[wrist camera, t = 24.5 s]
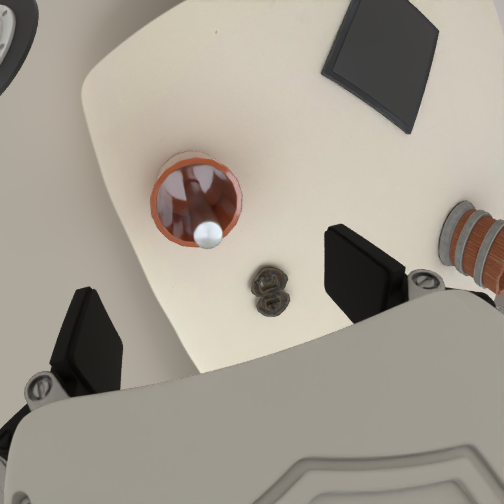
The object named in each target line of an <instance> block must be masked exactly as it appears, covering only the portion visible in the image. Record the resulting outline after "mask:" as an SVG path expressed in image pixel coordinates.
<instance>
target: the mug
mask: <svg viewBox="0 0 504 504" xmlns="http://www.w3.org/2000/svg"><path fill="white" fill-rule="evenodd" d="M439 253H440V258H441V261H442V263H443V264H444V265H446V266H455V267H456V269H457V270H458V271H459V272H460V273H462V274H463V275H465V276H471V277H473V278H474V281H475V283H476V284H477V285H479V286H480V287H482V288H484V289H485V288H488V289H490V290H491V291H492V292H494V293H495V294H496V295H498V296H499V295H501V294H502V293H503V292H504V220H501V219H500V220H495V219H493V218H492V216H491V215H490V214H489V213H487V212H485V211H483V210H476V209H475V207H474V206H473V205H472V204H471V203H470V202H467V201H466V202H462V203H460V204H459V205H457V206H456V207H455V208H454V209H453V210H452V211H451V213H450V214H449V216H448V218H447V220H446V222H445V224H444V227H443V229H442V233H441V236H440V242H439Z"/></svg>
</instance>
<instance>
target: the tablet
mask: <svg viewBox="0 0 504 504" xmlns="http://www.w3.org/2000/svg"><path fill="white" fill-rule="evenodd" d="M438 34H439V30H438V29H437V28H436V27H435V26H434V25H433V24H432V23H431V22H430V21H429V20H428V19H427V18H426V17H425V16H424V15H423V14H422V13H421V12H420V11H419V10H418V9H417V8H416V7H415V6H414V5H413V4H411V3H410V2H409V1H408V0H352V1H351V4H350V6H349V8H348V11H347V13H346V15H345V18H344V20H343V23H342V25H341V27H340V30H339V32H338V34H337V37H336V39H335V41H334V44H333V46H332V49H331V51H330V53H329V56H328V58H327V61H326V63H325V65H324V68H323V70H322V72H321V74H322V75H324V76H326V77H327V78H329V79H331V80H332V81H334V82H335V83H337V84H339V85H340V86H342V87H343V88H345V89H347V90H348V91H350V92H351V93H353V94H354V95H356V96H357V97H359V98H360V99H362V100H363V101H364V102H366V103H367V104H369V105H370V106H372V107H373V108H374V109H376V110H377V111H378V112H380V113H381V114H382V115H384V116H385V117H386V118H388V119H389V120H390V121H392V122H393V123H394V124H395V125H397V126H398V127H399V128H400V129H402V130H403V131H404V132H405V133H406V134H411V131H412V129H413V126H414V123H415V120H416V117H417V113H418V110H419V107H420V104H421V101H422V97H423V94H424V91H425V87H426V84H427V80H428V76H429V73H430V69H431V65H432V61H433V57H434V53H435V48H436V44H437V39H438Z"/></svg>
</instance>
